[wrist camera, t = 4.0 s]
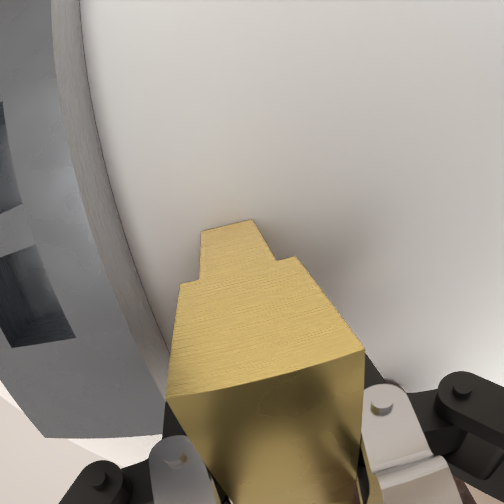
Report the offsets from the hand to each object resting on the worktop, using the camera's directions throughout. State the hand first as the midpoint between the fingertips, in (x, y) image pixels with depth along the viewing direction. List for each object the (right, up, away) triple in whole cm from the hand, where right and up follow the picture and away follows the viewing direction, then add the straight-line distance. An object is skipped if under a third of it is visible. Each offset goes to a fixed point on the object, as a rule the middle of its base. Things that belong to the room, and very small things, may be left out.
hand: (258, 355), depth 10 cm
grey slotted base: (-10, +5, +1) cm, 11 cm away
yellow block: (-1, +1, +3) cm, 4 cm away
